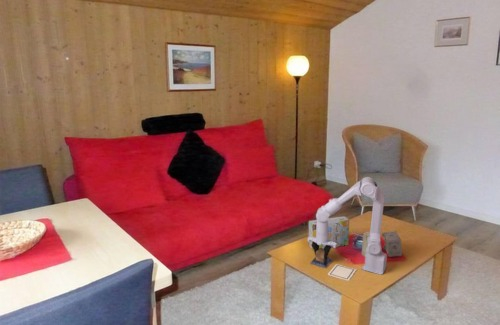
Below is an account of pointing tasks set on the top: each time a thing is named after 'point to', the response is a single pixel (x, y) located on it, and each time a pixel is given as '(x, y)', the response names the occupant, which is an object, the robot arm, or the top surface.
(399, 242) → the incense holder
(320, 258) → the walnut stamp
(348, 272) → the marked card
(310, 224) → the snack box
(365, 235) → the skincare box
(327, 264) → the ink pad
